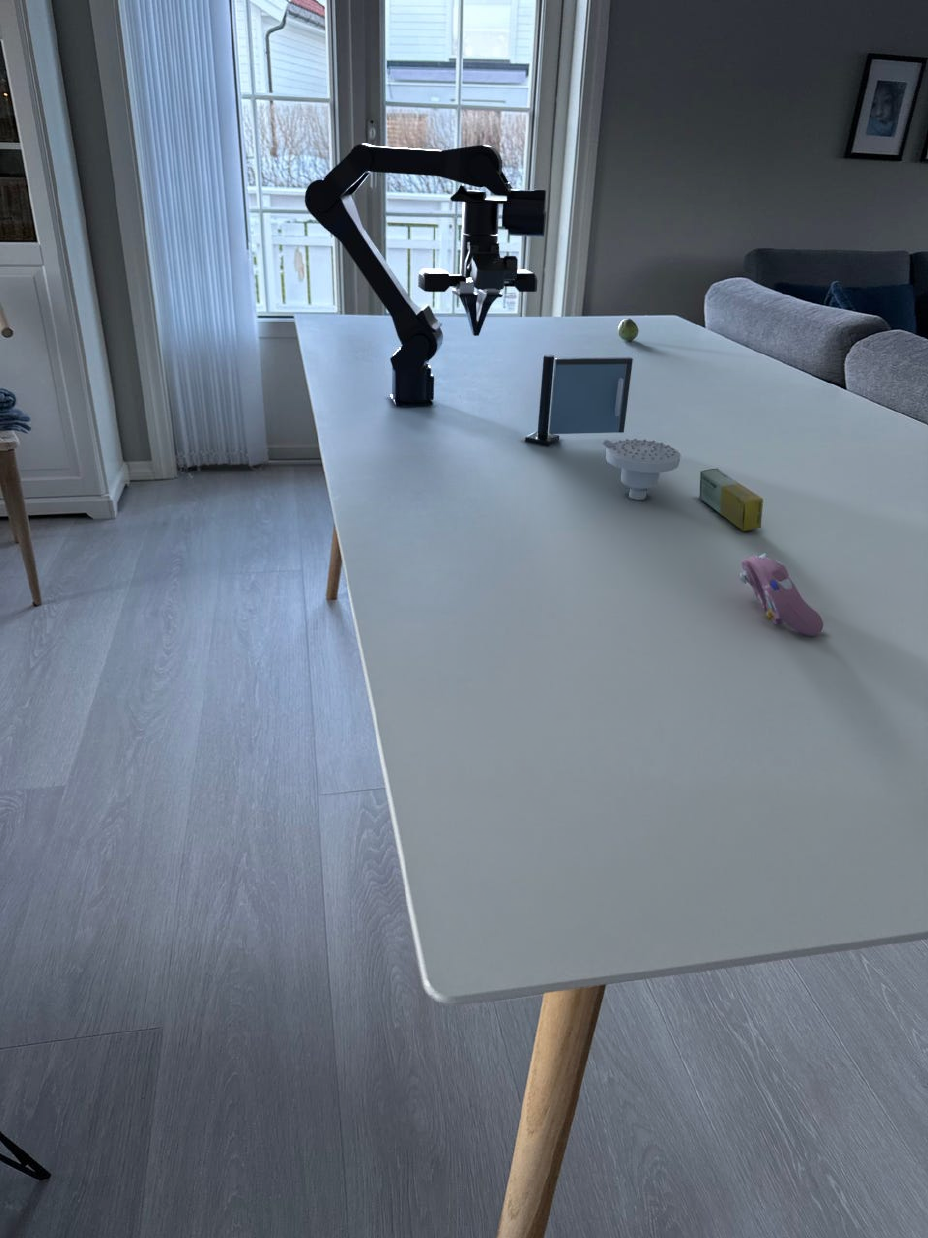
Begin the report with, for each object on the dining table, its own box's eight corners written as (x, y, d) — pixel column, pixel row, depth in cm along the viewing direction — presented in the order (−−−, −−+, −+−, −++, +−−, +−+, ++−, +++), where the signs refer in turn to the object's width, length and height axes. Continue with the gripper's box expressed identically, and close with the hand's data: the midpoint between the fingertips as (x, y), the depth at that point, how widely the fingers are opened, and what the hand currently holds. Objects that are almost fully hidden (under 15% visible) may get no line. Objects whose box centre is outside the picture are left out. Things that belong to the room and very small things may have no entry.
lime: (616, 338, 215) (618, 316, 213) (636, 339, 215) (639, 317, 212) (616, 341, 211) (619, 319, 209) (637, 342, 211) (640, 320, 208)
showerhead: (605, 429, 120) (681, 436, 119) (599, 481, 124) (673, 488, 122) (600, 450, 112) (682, 458, 111) (594, 505, 116) (673, 513, 114)
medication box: (697, 499, 119) (699, 470, 117) (716, 496, 120) (718, 467, 118) (741, 531, 109) (744, 500, 107) (762, 528, 109) (765, 497, 107)
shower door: (548, 432, 139) (554, 357, 134) (621, 430, 142) (630, 357, 136) (552, 436, 137) (559, 361, 132) (626, 435, 140) (636, 360, 134)
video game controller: (746, 606, 95) (728, 552, 92) (787, 588, 95) (770, 533, 91) (783, 653, 86) (764, 595, 83) (829, 634, 86) (811, 575, 83)
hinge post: (524, 441, 139) (530, 356, 133) (536, 435, 142) (542, 351, 136) (548, 446, 137) (555, 359, 131) (559, 440, 140) (566, 355, 134)
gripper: (433, 238, 134) (431, 346, 141) (552, 240, 138) (544, 344, 145) (418, 231, 143) (417, 332, 150) (529, 232, 147) (523, 331, 155)
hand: (475, 335), depth 150 cm, fingers closed
